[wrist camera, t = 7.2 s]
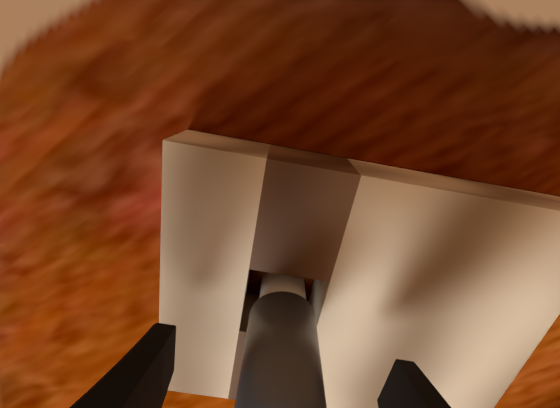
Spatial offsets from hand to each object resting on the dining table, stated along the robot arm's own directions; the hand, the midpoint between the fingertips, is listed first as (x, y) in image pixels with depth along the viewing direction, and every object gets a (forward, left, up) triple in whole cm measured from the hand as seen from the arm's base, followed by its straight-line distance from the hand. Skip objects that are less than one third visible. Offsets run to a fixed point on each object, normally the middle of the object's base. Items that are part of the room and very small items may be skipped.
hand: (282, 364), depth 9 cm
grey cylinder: (0, 0, -5) cm, 5 cm away
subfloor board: (-3, 0, -5) cm, 6 cm away
